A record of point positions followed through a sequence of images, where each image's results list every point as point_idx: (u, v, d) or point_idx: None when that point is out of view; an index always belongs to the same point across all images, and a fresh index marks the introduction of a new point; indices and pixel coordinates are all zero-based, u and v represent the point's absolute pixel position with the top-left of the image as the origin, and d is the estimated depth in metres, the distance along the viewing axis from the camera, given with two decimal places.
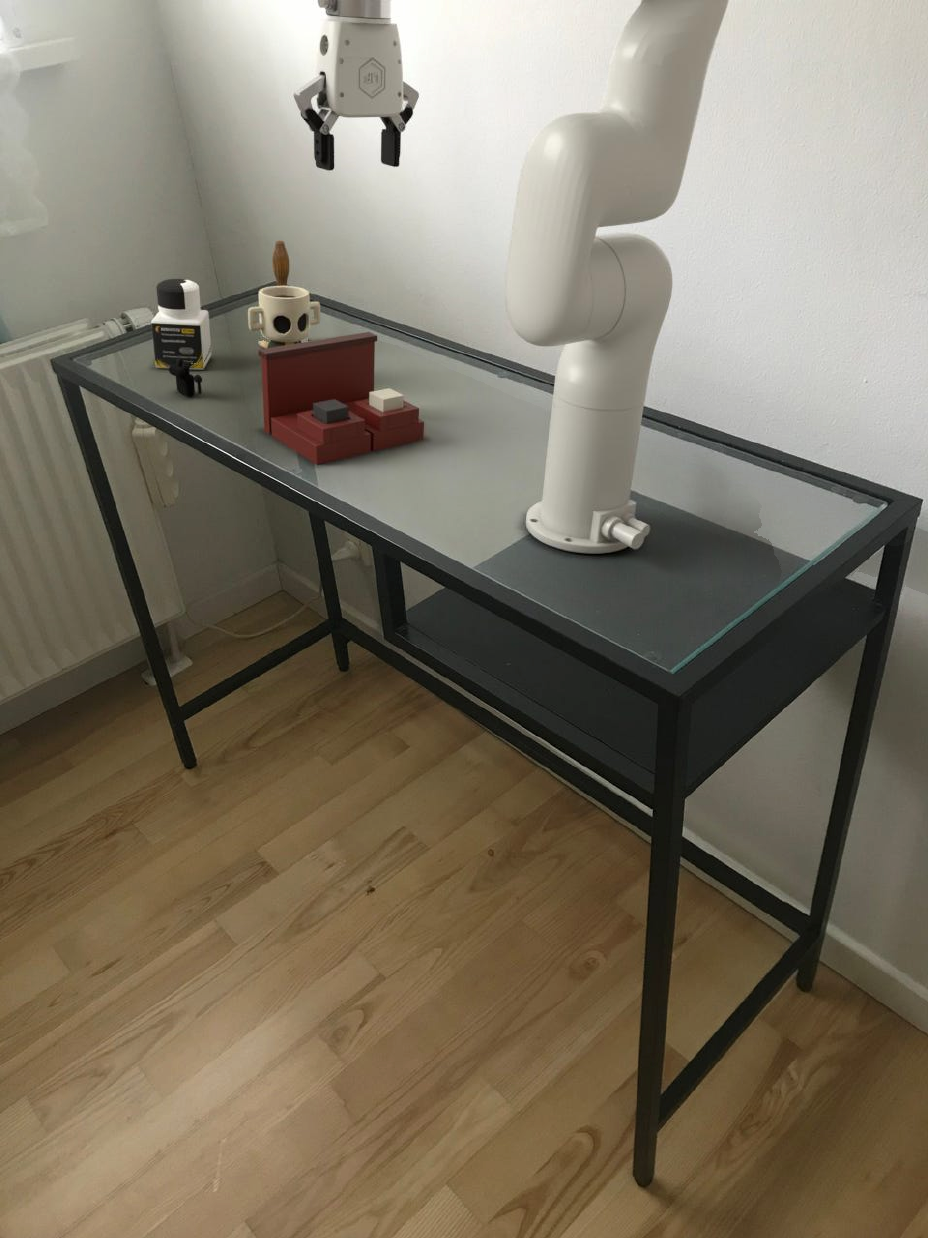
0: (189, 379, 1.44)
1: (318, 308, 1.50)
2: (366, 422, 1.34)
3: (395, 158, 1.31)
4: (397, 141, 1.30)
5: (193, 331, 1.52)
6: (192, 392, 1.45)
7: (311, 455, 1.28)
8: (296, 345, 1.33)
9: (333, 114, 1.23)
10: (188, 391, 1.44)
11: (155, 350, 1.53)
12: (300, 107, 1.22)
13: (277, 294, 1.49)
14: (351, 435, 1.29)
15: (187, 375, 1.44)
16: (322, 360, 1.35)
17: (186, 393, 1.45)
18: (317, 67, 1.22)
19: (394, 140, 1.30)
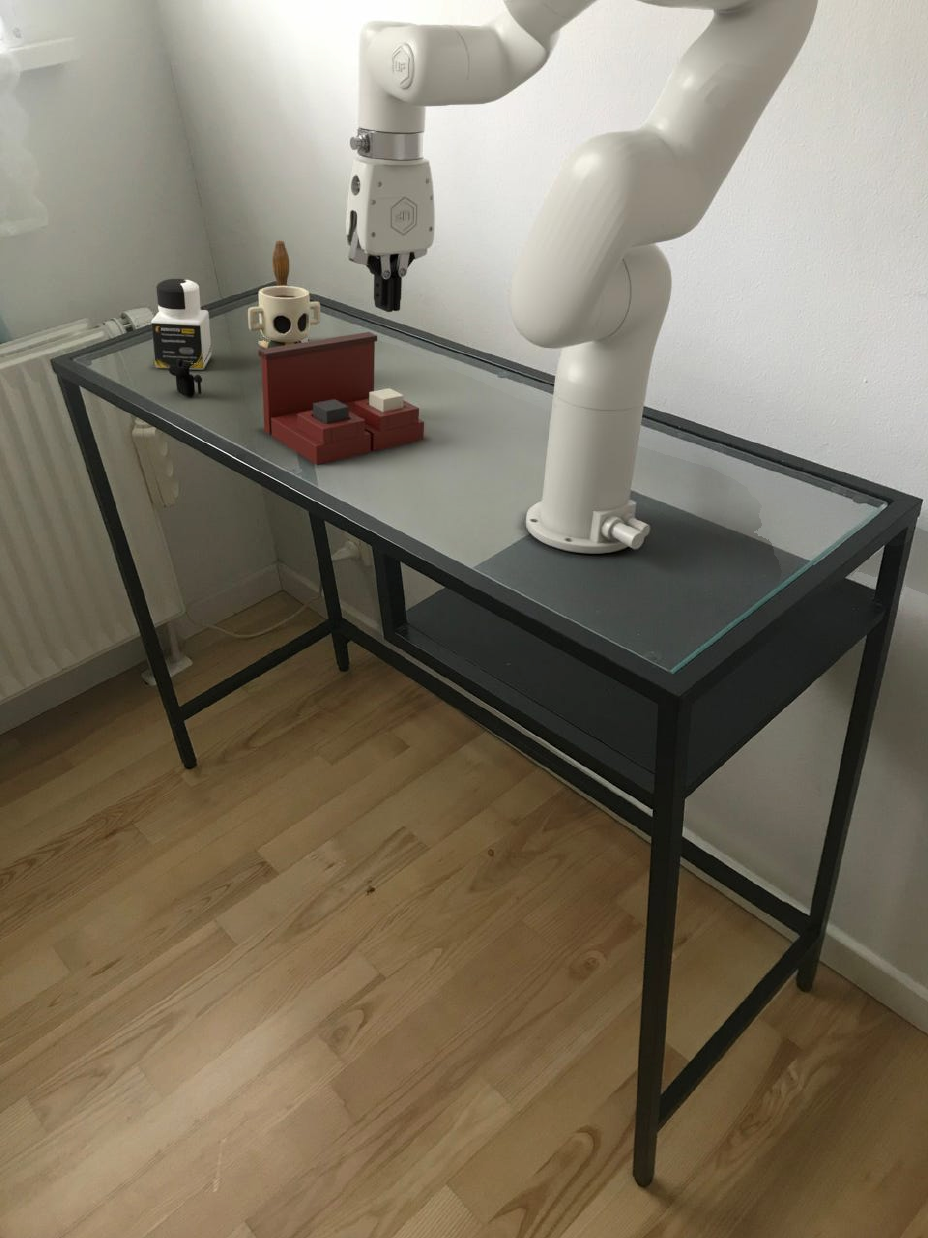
0: (189, 379, 1.44)
1: (318, 308, 1.50)
2: (366, 422, 1.34)
3: (396, 303, 1.27)
4: (398, 287, 1.26)
5: (193, 331, 1.52)
6: (192, 392, 1.45)
7: (311, 455, 1.28)
8: (296, 345, 1.33)
9: (384, 258, 1.23)
10: (188, 391, 1.44)
11: (155, 350, 1.53)
12: None
13: (277, 294, 1.49)
14: (351, 435, 1.29)
15: (187, 375, 1.44)
16: (322, 360, 1.35)
17: (186, 393, 1.45)
18: (348, 205, 1.20)
19: (395, 286, 1.26)
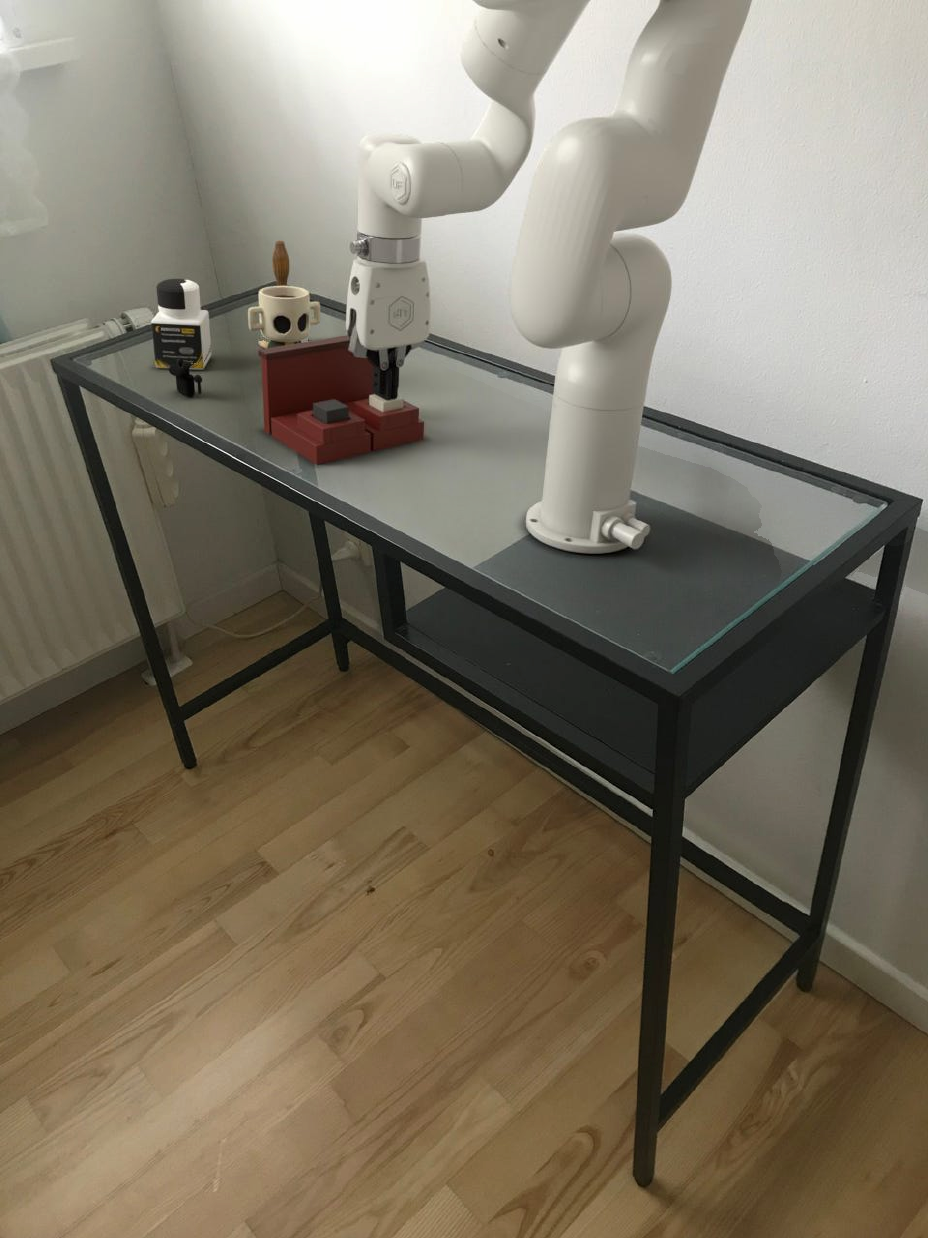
0: (189, 379, 1.44)
1: (318, 308, 1.50)
2: (366, 422, 1.34)
3: (393, 391, 1.32)
4: (396, 376, 1.32)
5: (193, 331, 1.52)
6: (192, 392, 1.45)
7: (311, 455, 1.28)
8: (296, 345, 1.33)
9: (382, 351, 1.29)
10: (188, 391, 1.44)
11: (155, 350, 1.53)
12: None
13: (277, 294, 1.49)
14: (351, 435, 1.29)
15: (187, 375, 1.44)
16: (322, 360, 1.35)
17: (186, 393, 1.45)
18: (348, 303, 1.26)
19: (392, 376, 1.31)
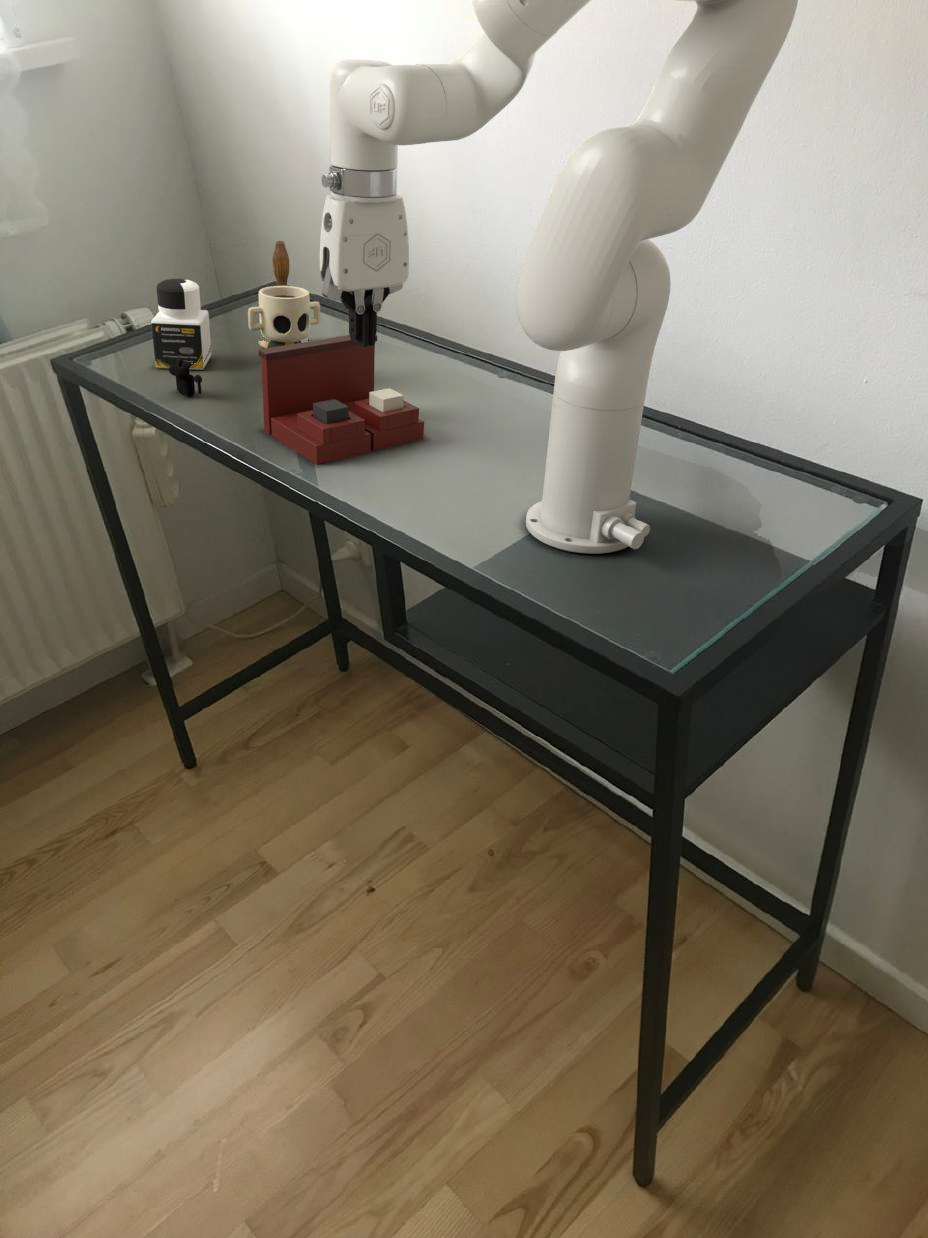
0: (189, 379, 1.44)
1: (318, 308, 1.50)
2: (366, 422, 1.34)
3: (371, 338, 1.26)
4: (373, 322, 1.25)
5: (193, 331, 1.52)
6: (192, 392, 1.45)
7: (311, 455, 1.28)
8: (296, 345, 1.33)
9: (357, 294, 1.23)
10: (188, 391, 1.44)
11: (155, 350, 1.53)
12: None
13: (277, 294, 1.49)
14: (351, 435, 1.29)
15: (187, 375, 1.44)
16: (322, 360, 1.35)
17: (186, 393, 1.45)
18: (321, 241, 1.20)
19: (369, 321, 1.25)
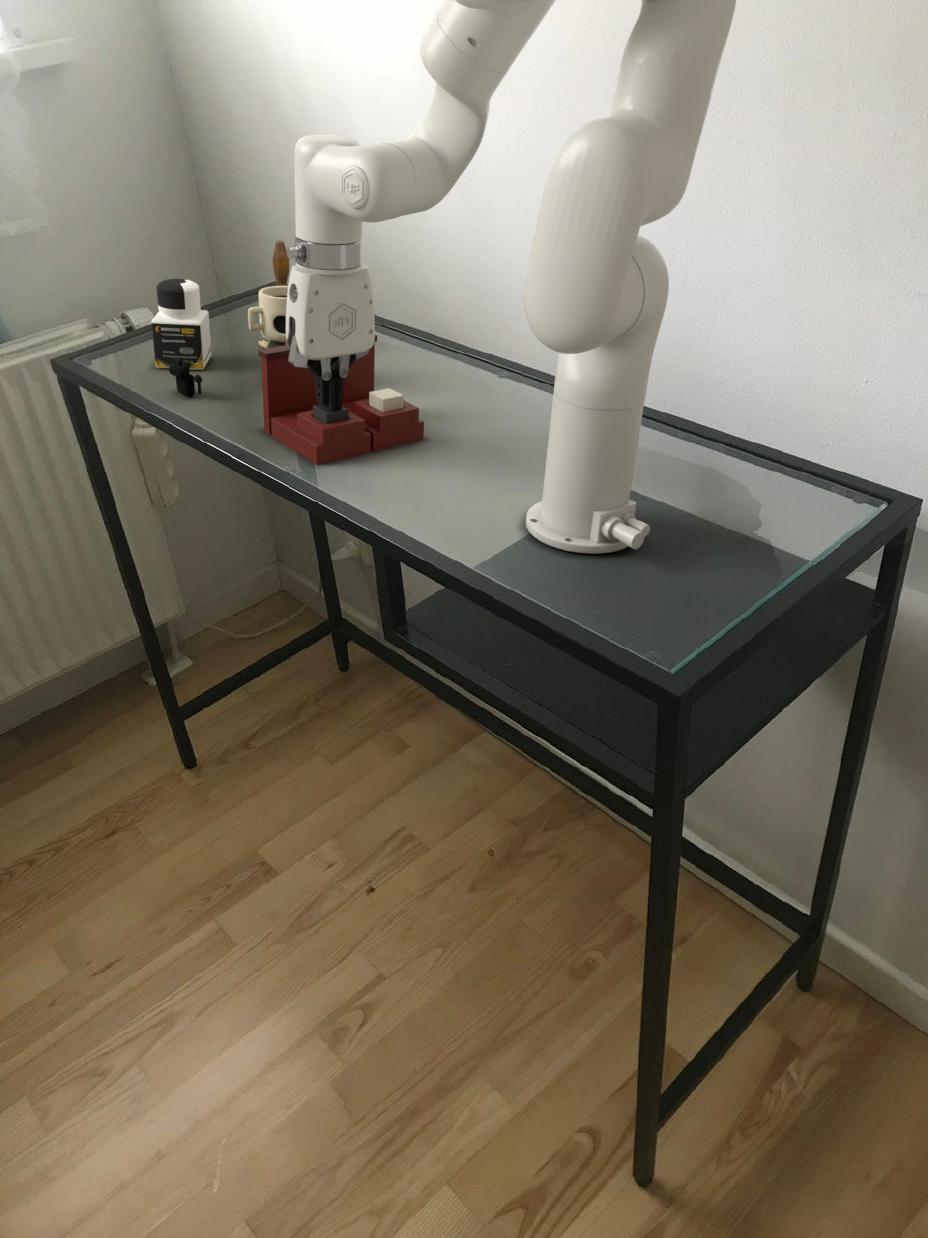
0: (189, 379, 1.44)
1: None
2: (366, 422, 1.34)
3: (337, 402, 1.28)
4: (339, 387, 1.27)
5: (193, 331, 1.52)
6: (192, 392, 1.45)
7: (311, 455, 1.28)
8: None
9: (324, 361, 1.24)
10: (188, 391, 1.44)
11: (155, 350, 1.53)
12: None
13: (277, 294, 1.49)
14: (351, 435, 1.29)
15: (187, 375, 1.44)
16: None
17: (186, 393, 1.45)
18: (287, 311, 1.21)
19: (336, 386, 1.27)
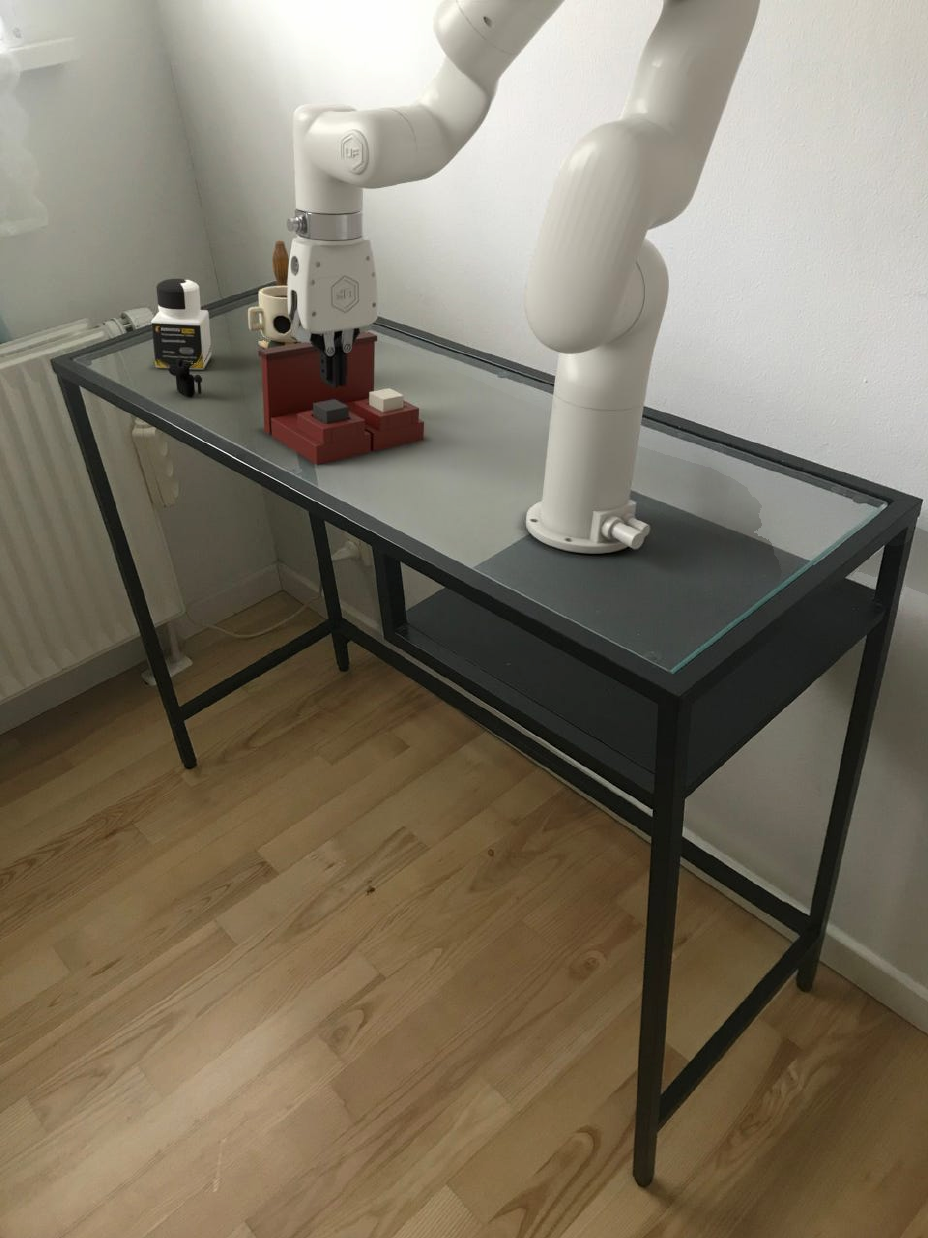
0: (189, 379, 1.44)
1: None
2: (366, 422, 1.34)
3: (342, 378, 1.26)
4: (343, 362, 1.25)
5: (193, 331, 1.52)
6: (192, 392, 1.45)
7: (311, 455, 1.28)
8: (296, 345, 1.33)
9: (327, 335, 1.22)
10: (188, 391, 1.44)
11: (155, 350, 1.53)
12: None
13: (277, 294, 1.49)
14: (351, 435, 1.29)
15: (187, 375, 1.44)
16: None
17: (186, 393, 1.45)
18: (288, 285, 1.19)
19: (340, 361, 1.25)
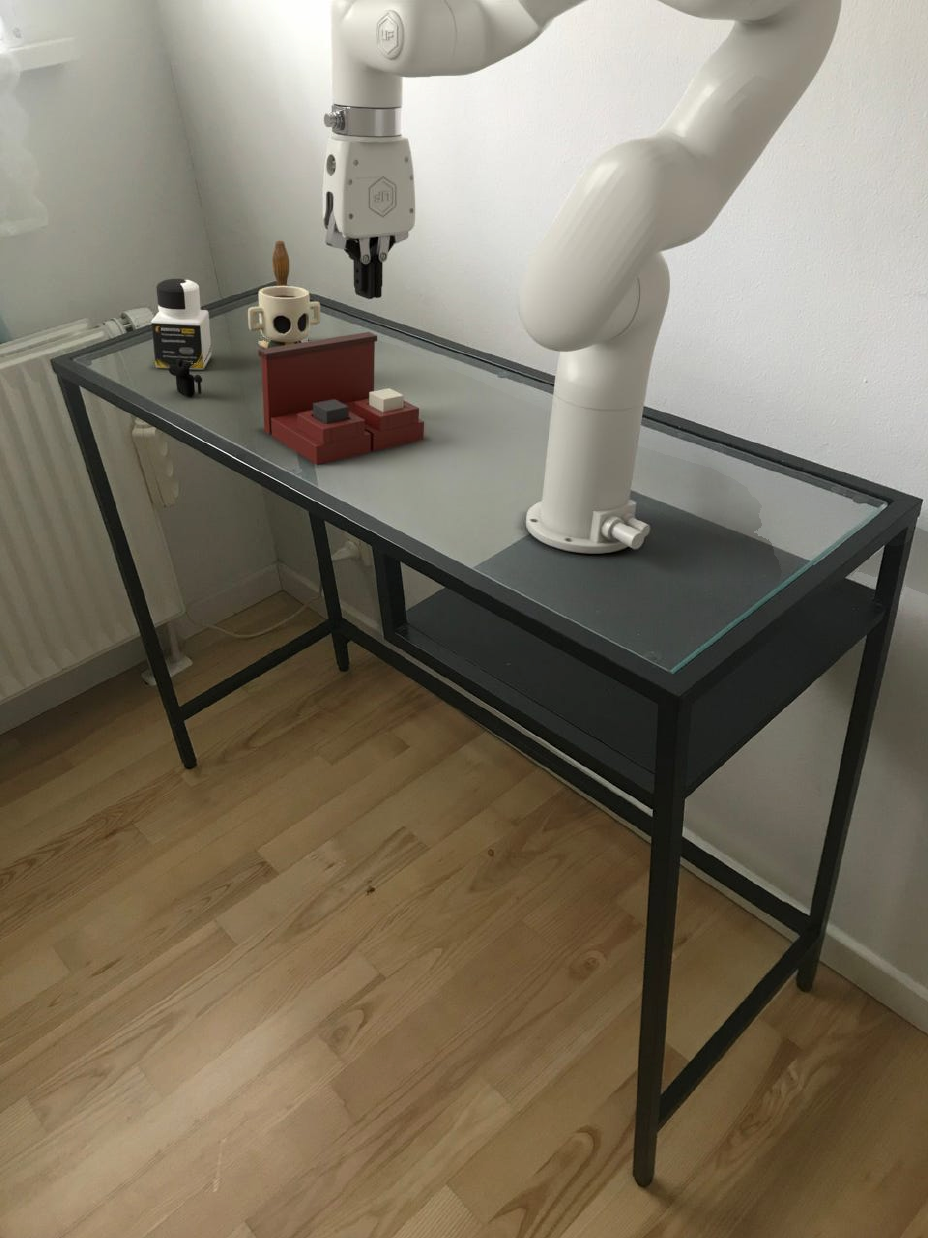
0: (189, 379, 1.44)
1: (318, 308, 1.50)
2: (366, 422, 1.34)
3: (377, 289, 1.21)
4: (379, 272, 1.20)
5: (193, 331, 1.52)
6: (192, 392, 1.45)
7: (311, 455, 1.28)
8: (296, 345, 1.33)
9: (363, 242, 1.17)
10: (188, 391, 1.44)
11: (155, 350, 1.53)
12: None
13: (277, 294, 1.49)
14: (351, 435, 1.29)
15: (187, 375, 1.44)
16: (322, 360, 1.35)
17: (186, 393, 1.45)
18: (324, 186, 1.14)
19: (375, 271, 1.20)
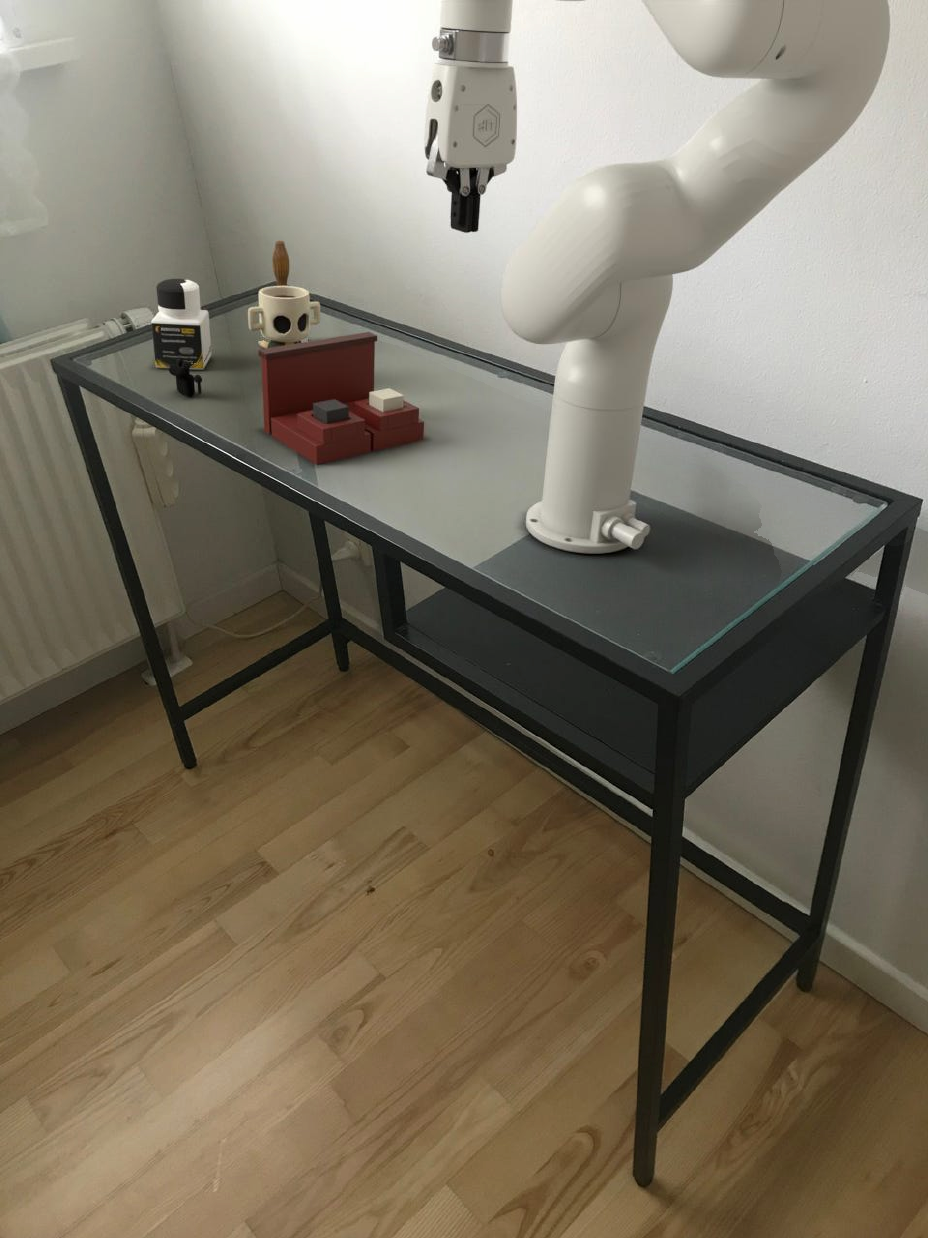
0: (189, 379, 1.44)
1: (318, 308, 1.50)
2: (366, 422, 1.34)
3: (474, 223, 1.19)
4: (477, 205, 1.18)
5: (193, 331, 1.52)
6: (192, 392, 1.45)
7: (311, 455, 1.28)
8: (296, 345, 1.33)
9: (463, 172, 1.15)
10: (188, 391, 1.44)
11: (155, 350, 1.53)
12: None
13: (277, 294, 1.49)
14: (351, 435, 1.29)
15: (187, 375, 1.44)
16: (322, 360, 1.35)
17: (186, 393, 1.45)
18: (427, 114, 1.12)
19: (474, 204, 1.18)
